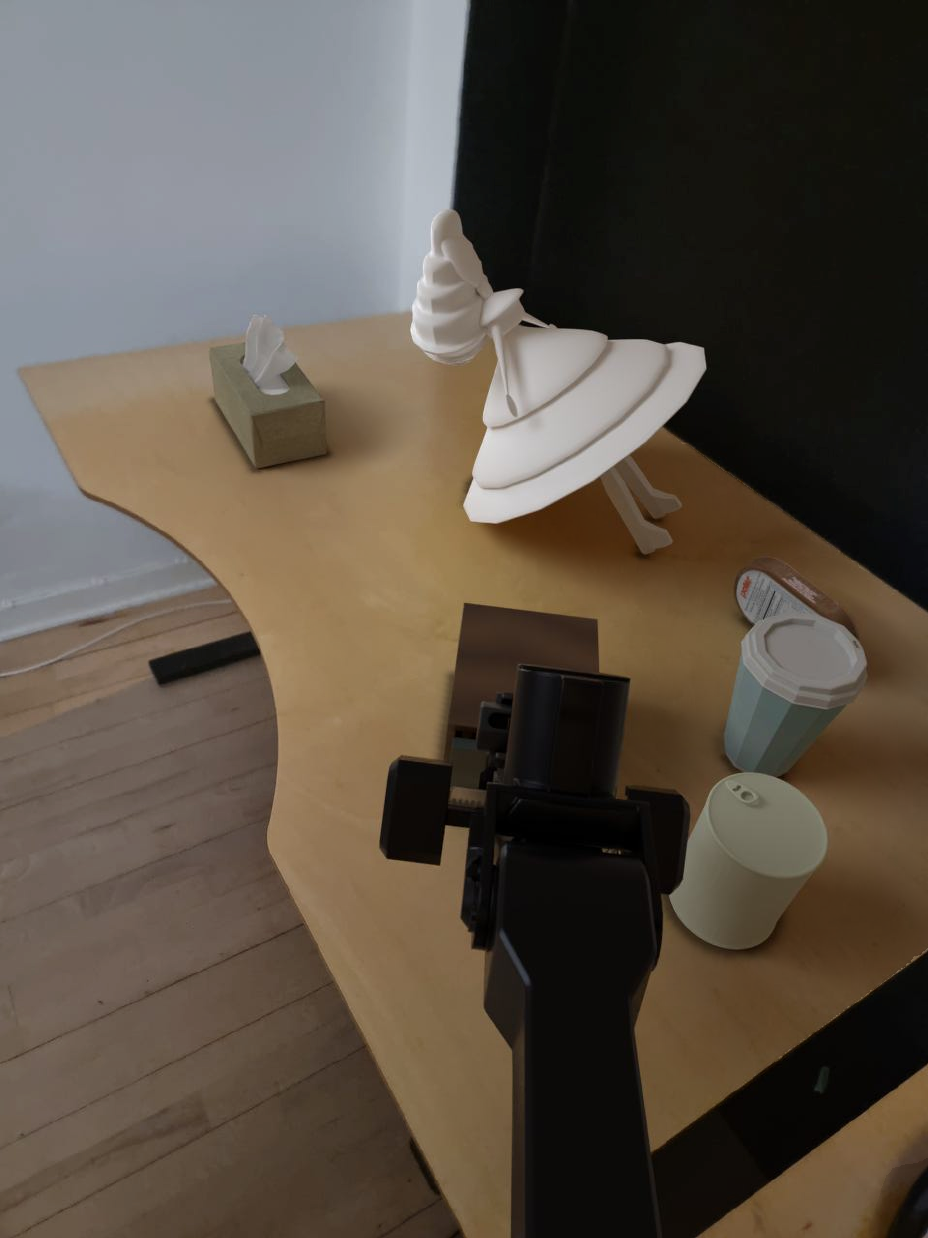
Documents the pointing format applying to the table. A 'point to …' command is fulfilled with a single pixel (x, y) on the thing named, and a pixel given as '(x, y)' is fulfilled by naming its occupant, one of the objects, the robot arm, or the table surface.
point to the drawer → (466, 764)
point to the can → (748, 859)
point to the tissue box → (268, 397)
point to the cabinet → (511, 656)
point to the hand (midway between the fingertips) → (524, 797)
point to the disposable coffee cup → (790, 689)
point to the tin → (784, 594)
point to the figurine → (550, 394)
